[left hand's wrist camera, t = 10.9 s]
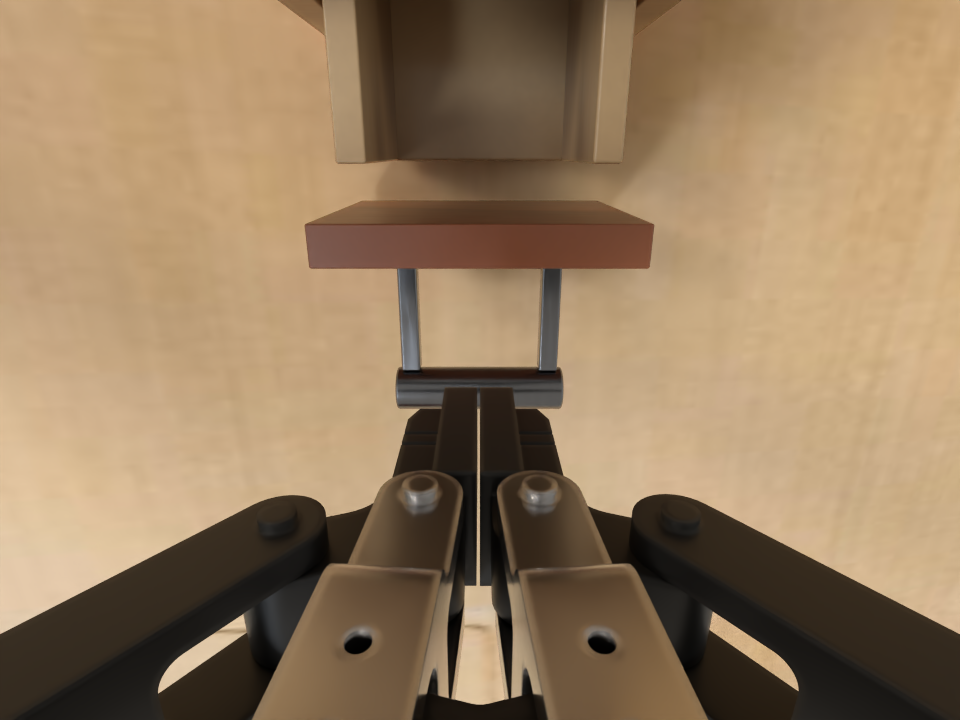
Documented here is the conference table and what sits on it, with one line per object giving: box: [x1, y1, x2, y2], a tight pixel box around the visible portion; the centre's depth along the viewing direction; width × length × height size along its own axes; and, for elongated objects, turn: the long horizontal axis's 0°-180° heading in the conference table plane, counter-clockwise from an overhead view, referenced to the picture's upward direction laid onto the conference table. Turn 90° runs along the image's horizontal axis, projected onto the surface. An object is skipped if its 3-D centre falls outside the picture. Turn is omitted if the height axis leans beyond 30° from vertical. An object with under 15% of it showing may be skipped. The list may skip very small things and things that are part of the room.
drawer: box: [305, 0, 654, 409], centre depth 16 cm, size 22×9×8 cm, turn 0°
